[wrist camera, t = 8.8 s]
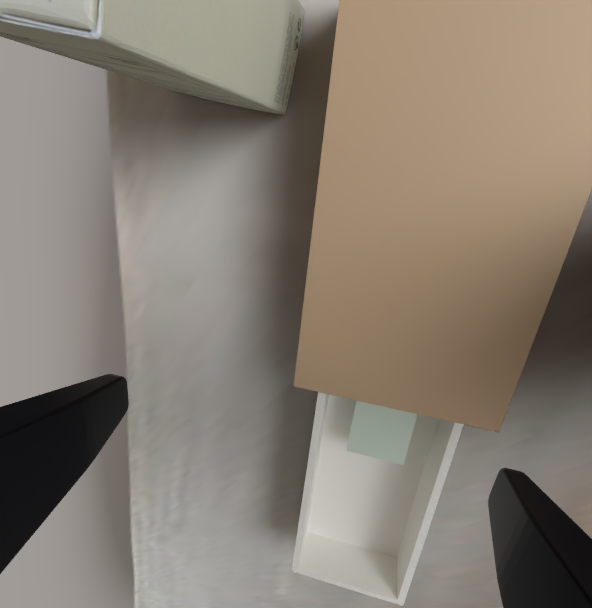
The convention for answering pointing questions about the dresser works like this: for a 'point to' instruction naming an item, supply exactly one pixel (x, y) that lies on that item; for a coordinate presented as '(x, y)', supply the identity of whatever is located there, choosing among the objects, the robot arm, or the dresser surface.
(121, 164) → the dresser surface
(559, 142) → the sleeve
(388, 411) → the soap bar
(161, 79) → the skincare box
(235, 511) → the dresser surface
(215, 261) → the dresser surface
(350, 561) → the tray
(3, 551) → the robot arm
